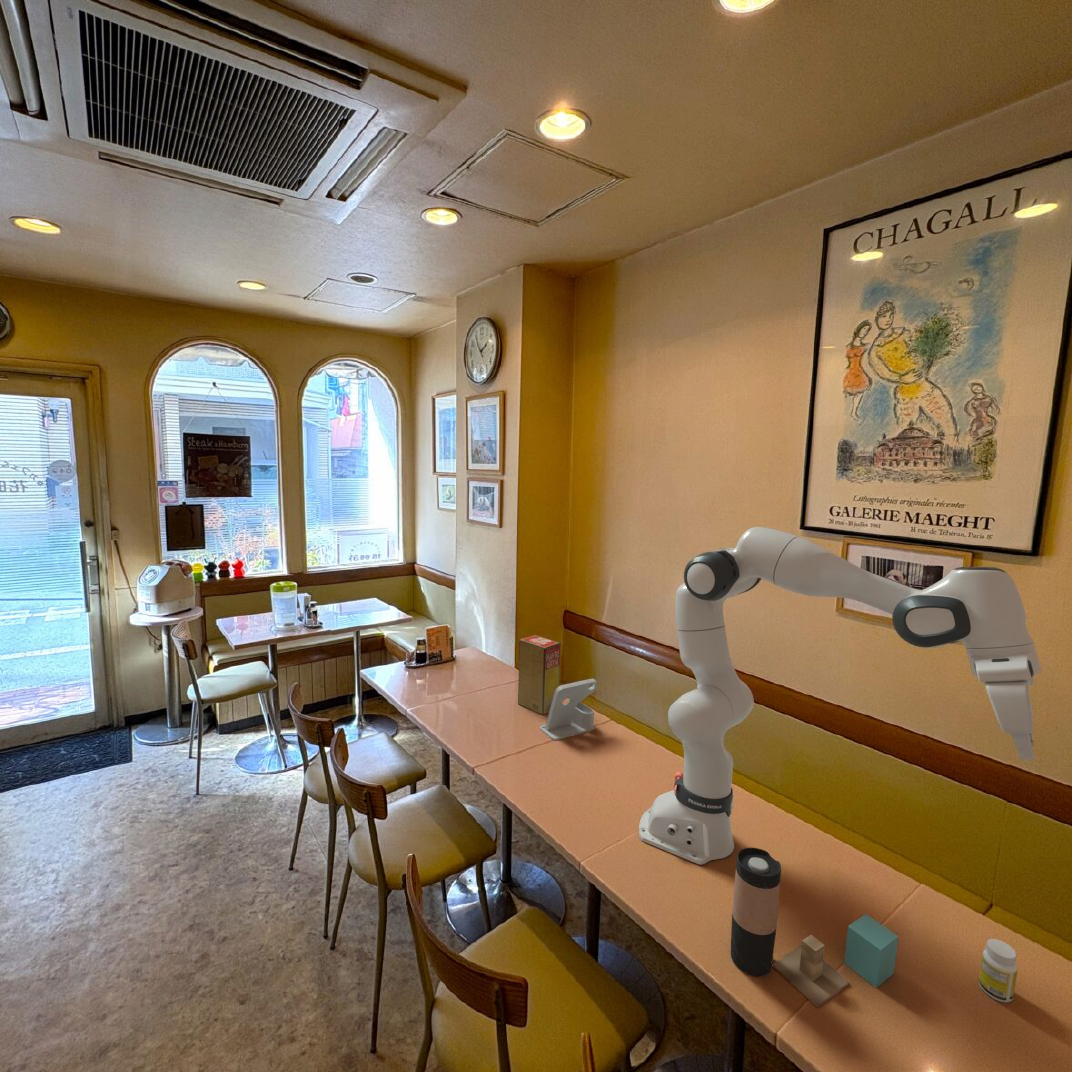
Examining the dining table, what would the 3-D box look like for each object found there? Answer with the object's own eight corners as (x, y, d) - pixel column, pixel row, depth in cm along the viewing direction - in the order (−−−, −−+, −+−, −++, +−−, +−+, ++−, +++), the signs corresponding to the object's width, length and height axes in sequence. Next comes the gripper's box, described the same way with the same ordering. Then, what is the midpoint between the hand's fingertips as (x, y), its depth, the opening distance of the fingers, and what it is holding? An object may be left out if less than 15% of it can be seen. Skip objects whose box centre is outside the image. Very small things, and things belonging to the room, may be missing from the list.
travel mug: (728, 969, 103) (735, 869, 100) (729, 937, 110) (736, 842, 107) (773, 984, 100) (782, 881, 97) (772, 949, 107) (780, 853, 104)
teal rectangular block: (844, 962, 105) (848, 926, 104) (862, 949, 107) (866, 913, 106) (875, 988, 100) (880, 950, 99) (893, 973, 103) (898, 936, 102)
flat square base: (772, 966, 103) (775, 934, 103) (803, 945, 108) (806, 915, 107) (818, 1007, 96) (821, 973, 95) (849, 983, 100) (852, 951, 99)
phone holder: (580, 717, 201) (581, 669, 199) (597, 729, 193) (599, 678, 190) (538, 728, 193) (539, 678, 190) (554, 741, 184) (555, 688, 182)
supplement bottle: (997, 978, 102) (1003, 936, 101) (1020, 1003, 97) (1027, 960, 96) (971, 978, 102) (977, 937, 101) (993, 1003, 97) (1000, 960, 96)
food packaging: (560, 707, 209) (561, 642, 205) (542, 715, 202) (544, 648, 199) (533, 696, 218) (535, 634, 214) (516, 704, 211) (517, 639, 208)
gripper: (983, 658, 102) (1004, 737, 99) (975, 672, 86) (1000, 767, 84) (1028, 655, 98) (1051, 738, 95) (1028, 669, 83) (1056, 769, 80)
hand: (1027, 752), depth 90 cm, fingers open, 8 cm apart
